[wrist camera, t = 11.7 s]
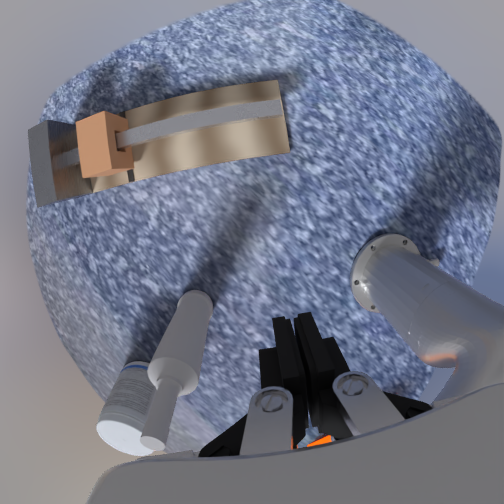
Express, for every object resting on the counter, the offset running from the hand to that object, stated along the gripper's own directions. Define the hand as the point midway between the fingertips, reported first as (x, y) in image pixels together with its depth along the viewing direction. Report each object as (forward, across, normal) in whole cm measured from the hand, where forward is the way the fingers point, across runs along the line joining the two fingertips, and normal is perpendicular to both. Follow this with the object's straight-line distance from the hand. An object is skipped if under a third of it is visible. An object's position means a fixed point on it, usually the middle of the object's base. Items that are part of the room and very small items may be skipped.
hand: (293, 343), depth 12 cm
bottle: (+27, +11, +10) cm, 31 cm away
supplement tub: (+27, +24, +24) cm, 44 cm away
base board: (+27, +11, -14) cm, 32 cm away
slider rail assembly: (+27, +11, -14) cm, 32 cm away
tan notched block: (+25, +17, -14) cm, 33 cm away
